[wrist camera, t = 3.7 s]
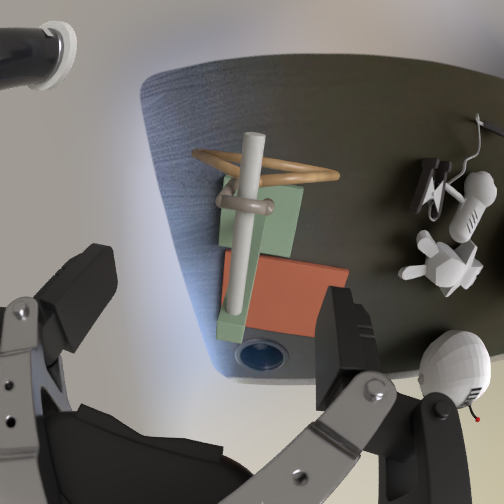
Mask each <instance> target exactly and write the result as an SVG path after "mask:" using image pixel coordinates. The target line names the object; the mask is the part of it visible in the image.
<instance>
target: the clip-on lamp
mask: <svg viewBox="0 0 504 504" xmlns="http://www.w3.org/2000/svg"><path fill="white" fill-rule="evenodd" d="M475 120H476V122H477V123H478V136H479V145H478V150H477V152H476V153H475V154H474V155H473V156H471V157H469V158H467V159H465V160H464V162H463V169H462V171H461V173H459V174H458V175H457V176H455V177H454V178H452V179H451V180H450V181H449V182H448V183H446V180H447V172H451V167H452V163H451V162H449V161H439V159H437V158H423V160H422V164H421V167H423V170H422V173H421V176H420V179H419V182H418V185H417V188H416V191H415V194H414V197H413V199H412V202H411V205H410V211H412V212H414V213H416V214H418V213H419V212H420V210H421V207H422V204H424V203H425V202H426V201H427V202H428V205H429V211H428V216H429V218H430V220H431V221H436V220H437V219H438V218H439V217H440V215H441V211H442V205H443V199H444V193H445V190H446V191H447V192H448V193H449V194H451V195H452V196H453V197H454V198H455V199H457V200H458V201H459V202H460V204H459V206H458V209H457V211H456V213H455V215H454V217H453V219H452V221H451V223H450V225H449V233H450V235H451V237H452V238H453V239H454V240H455V241H456V242H459V243H465V242H467V241H469V239H470V238H471V236H472V234H473V232H474V230H475V228H476V226H477V224H478V222H479V220H480V218H481V216H482V214H483V212H484V210H485V208H486V207H488V206H490V205H491V204H492V203H493V202H494V200H495V198H496V195H497V188H496V187H495V185H494V181H493V179H492V177H491V175H490V174H489V173H487V172H485V171H479V172H477V173H474V172H472V173H470V174H469V175H468V176H467V178H466V180H465V182H464V192H465V194H464V196H463V197H462V195H461V194H460V193H459V192H458V191H456V190H455V189H454V188H453V187H451V186H450V184H451V183H452V182H453V181H455V180H456V179H458V178H459V177H460V176H462V175H463V174H464V172H465V169H466V162H467V161H468V160H469V159H471V158H474V157H476V156H477V155H478V153H479V151H480V125H481V126H483V128H484V129H486V130H488V131H490V132H493V133H495V134H497V135H499V136H502V137H504V129H502V128H500V127H498V126H496V125H493V124H491V123H489V122H486V121H484V123H483V122H481V121H479V115H478V113H477V114H476V116H475ZM479 124H480V125H479ZM434 170H435V171H436V175H435V180H434V181H433V178H432V175H433V172H434ZM431 216H432V217H434V218H431Z"/></svg>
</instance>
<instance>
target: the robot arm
mask: <svg viewBox="0 0 504 504" xmlns="http://www.w3.org/2000/svg"><path fill="white" fill-rule="evenodd" d="M63 54H64V40H63V37H62V35H61V33H60V32H59V31H58V30H56V29H54V28H47V27H41V28H0V90H4V89H9V88H13V87H19V86H25V85H31V84H41V83H44V82H46V81H48V80H49V79H51V78H52V77H53V76H54V74H55V73H56V72H57V70H58V68H59V66H60V64H61V61H62V58H63ZM117 283H118V281H117V273H116V267H115V260H114V254H113V250H112V248H111V247H110V246H106V245H100V244H95V243H93V244H91V245H90V246H89V247H88V248H87V249H86V250H85V251H84V252H83V253H82V254H79V255H77V256H75V257H73V258H71V259H69V260H68V261H67V262H66V263H65V264H64V265H63V266H62V268H61V269H59V270H58V271H57V273H55V276H53V277H52V278H51V279H50V280H49V281H48V282H47V283H46V284H45V285H44V286H43V287H42V288H41V289H40V290H39V292H37V294H36V295H35V296H34V297H33V298H32V297H21V298H18V299H16V300H14V301H12V302H11V303H10V304H9V305H8V306H7V307H0V504H323V502H324V501H325V500H326V499H327V498H328V497H329V496H330V495H331V493H332V492H333V491H334V490H335V489H336V488H337V486H338V485H339V484H340V483H341V482H342V480H343V479H344V478H345V477H346V476H347V474H348V473H349V472H350V471H351V469H352V468H353V467H354V466H355V464H356V463H357V461H358V460H359V458H360V456H361V455H360V453H361V452H362V450H363V451H367V452H370V453H373V454H377V455H379V499H378V500H379V501H378V504H472V497H471V487H470V477H469V470H468V463H467V456H466V451H465V444H464V439H463V433H462V428H461V423H460V419H459V414H458V410H457V407H456V405H455V403H454V402H453V400H452V399H451V398H450V397H448V396H447V395H445V394H443V393H440V392H432V393H429V394H427V395H426V396H425V397H424V398H423V399H422V400H419V399H416V398H412V397H410V396H406V395H403V394H400V393H399V392H397V391H396V388H395V386H394V384H393V382H392V381H391V380H390V379H389V378H388V377H387V376H386V375H384V374H383V373H382V369H381V364H380V359H379V354H378V350H377V345H376V341H375V338H374V332H373V329H372V323H371V319H370V315H369V314H368V313H367V311H366V310H365V309H364V307H363V306H362V305H360V304H354V303H353V298H352V293H351V290H350V288H343V287H337V286H330V285H329V286H328V288H327V290H326V293H325V296H324V299H323V302H322V305H321V308H320V311H319V314H318V317H317V321H316V326H315V360H316V410H317V411H325V412H324V413H323V414H322V415H321V416H320V417H319V418H318V419H317V420H316V421H315V422H312V423H311V424H309V425H308V426H307V427H306V428H305V429H304V430H303V431H302V432H301V433H300V434H299V435H298V436H297V437H296V438H295V439H294V440H293V441H292V442H291V443H290V444H289V445H287V446H286V448H284V449H283V450H282V451H281V452H280V453H279V454H278V455H277V456H276V457H274V458H273V459H272V460H271V461H270V462H269V463H268V464H266V465H265V466H264V467H263V468H262V469H261V470H260V471H258V472H257V473H256V474H255V475H253V474H252V473H251V472H250V471H249V470H248V469H247V468H245V467H244V466H242V465H241V464H240V463H238V462H236V461H234V460H232V459H231V458H228V457H226V456H224V455H223V447H222V446H218V445H213V444H208V443H203V442H199V441H194V440H190V439H186V438H165V437H149V436H143V435H141V434H139V433H137V432H136V431H134V430H133V429H131V428H130V427H128V426H126V425H125V424H123V423H122V422H120V421H119V420H117V419H116V418H114V417H113V416H111V415H109V414H106V413H103V412H101V411H98V410H96V409H94V408H91V407H89V406H86V405H84V404H81V405H80V407H79V408H78V411H72V409H71V407H70V405H69V401H68V398H67V392H66V386H65V380H64V372H63V364H62V358H61V355H60V353H61V352H62V350H63V349H64V350H66V351H69V352H71V353H75V351H76V350H77V348H78V347H79V345H80V344H81V342H82V341H83V339H84V338H85V336H86V335H87V333H88V332H89V330H90V329H91V327H92V326H93V324H94V323H95V321H96V320H97V318H98V317H99V316H100V314H101V313H102V311H103V310H104V308H105V307H106V306H107V304H108V303H109V301H110V300H111V299H112V297H113V296H114V294H115V292H116V289H117Z"/></svg>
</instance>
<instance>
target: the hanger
mask: <svg viewBox="0 0 504 504" xmlns="http://www.w3.org/2000/svg"><path fill="white" fill-rule="evenodd" d="M241 156H242V154H239V153H231V152H223V151H215V150H206V149H194V150H193V151H192V157H193V158H195V159H197V160H199V161H201V162H203V163H206V164H208V165H210V166H212V167H214V168H216V169H218V170H220V171H222V172H224V173H226V174H227V175H229V176H231V177H233V178H231V179H230V180H229V181H228V183H227V184H226V185H225V187H224V188H223V189H222V191H221V192H220V193H219V195H218V196H217V197H216V200H215V203H216V205H217V206H218V207H219V208H224V209H230V210H236V211H242V212H248V213H254V214H260V215H266V216H268V215H270V214H272V212H273V210H274V206H275V204H274V201H273V200H272V199H270V198H265V199H263V200H262V201H261V200H255V199H249V198H243V197H237V196H234V194H235V193H236V191H237V189H238V183H239V174H240V167H237V166H235V165H233V164H231V163H229V162H232V163H239V164H241ZM261 167H266V168H272V169H278V170H283V171H289V172H295V173H281V174H268V175H260V179H259V187H258V188H261V187H270V186H280V185H290V184H301V183H313V182H325V181H337V180H338V179H339V178H340V174H339V173H338V172H337V171H334V170H331V169H326V168H321V167H316V166H311V165H306V164H301V163H295V162H290V161H284V160H278V159H272V158H266V157H262V165H261Z"/></svg>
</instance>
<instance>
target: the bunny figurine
mask: <svg viewBox="0 0 504 504" xmlns="http://www.w3.org/2000/svg"><path fill="white" fill-rule="evenodd" d="M417 246H418V249H419V250H420V251H422V252H423V253H424V254H425V255H426V259H425V264H424V265H419V266H406V267H403V268H401V269H400V270H399V272H398V276H399V277H400V278H402V279H404V280H409V279H412V278H416V277H419V276H423V275H425V276H426V277H427V278H428V279H430V280H431V281H432V282H433V283H434V284H435V285H437V286H440V290H441V291H442V293H443V294H444V296H445V297H448V296H449V295H450V294H451V293H452V292H453V291H454V290H455V289H456V288H457V287H459V286H460V285H461V286H462V287H463V288H465V289H467V288H469V286H470V285H471V286H472V284H473V283H474V281H475V279H476V275H478V274H479V273H480V271H481V269H482V268H483V265H482V264H481V263H480V262H479V261H478V260H476V259H475V258H474V257H475V254H476V250H477V246H476V245H475V244H474V243H473V242H472V241H471V240H470V239H469V241H467V242H465V243H462V244H461V245H460V246H459V247H458V248H456V249H455V250H453V249H452V248H450V247H449V246H448V245H446V244H444V243H442V242H437V243H435V241H434V240H433V238H432V237H431V235H430V234H429V232H428V231H426V230H422V231H420V232H419V233H418V235H417Z"/></svg>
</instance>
